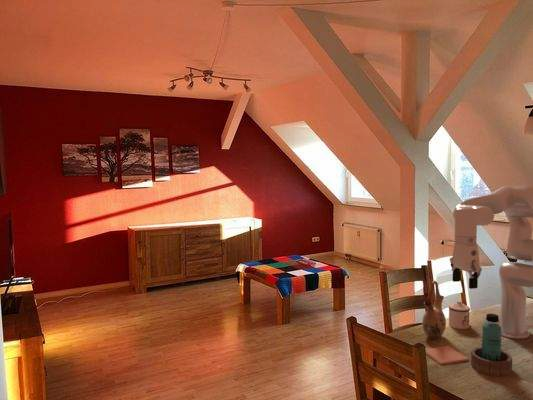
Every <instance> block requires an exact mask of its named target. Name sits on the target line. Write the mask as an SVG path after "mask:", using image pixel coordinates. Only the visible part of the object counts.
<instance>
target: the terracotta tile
mask: <svg viewBox="0 0 533 400" xmlns="http://www.w3.org/2000/svg"><path fill="white" fill-rule="evenodd" d="M425 349H426V353H427V355H426V356H427V357H429V358H430V359H432V360H434V362H436V363H438V364H439V365H440V366H441V365H442V366H443V365H448V364H455V363H462V362H468V361H469V358H468V357H467V356H465V355H464V354H462V353H460V352H458V351H457V350H455V349H454V348H452V347H451V346H450V345H446V346H440V347H439V346H438V347H431V348H425Z"/></svg>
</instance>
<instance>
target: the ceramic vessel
mask: <svg viewBox="0 0 533 400" xmlns="http://www.w3.org/2000/svg"><path fill="white" fill-rule="evenodd" d="M434 287H435V293H434ZM433 293H434V294H435V297H434V298H435V299H434V302H433ZM444 298H445V296H444V295H441V293H440V288H439V283H438V281H437V280H433V281H432V282H431V284H430V289H429V292H428V294H427V296H426V298H425V300H424V301H423V305H424V306H425V308H426V311H425V313H424V314H423V317H422V323H421V325H422V330H423V332H424V333H425V336H427V337H428V338H429V339H430V340H437V339H440V338H441V337H442V336H443V334H444V333H445V331H446V327H447V320H446V315H445V313H444V311H443V300H444Z"/></svg>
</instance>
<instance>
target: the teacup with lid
mask: <svg viewBox="0 0 533 400" xmlns="http://www.w3.org/2000/svg"><path fill="white" fill-rule="evenodd" d="M470 312H471V308H470V307H469V306H468V305H466V304H465V303H463V302H462V301H461V300H457V301H456V302H455V303H451V304H449V305H448V325H449V326H450V327H451V328H453V329H458V330H467V329H469V328H470Z"/></svg>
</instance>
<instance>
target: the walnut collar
mask: <svg viewBox="0 0 533 400" xmlns="http://www.w3.org/2000/svg"><path fill="white" fill-rule="evenodd" d="M481 347H482V346H480V347H474V348H473V349H471V350H470V364H471V368H473V369H474V370H475V371H477V372H478V373H481V374H484V375H487V376H490V377H491V376H492V377H498V378H499V377H500V378H501V377H506V376H508V377H509V376H510V375H511V374H512V372H513V358H512V356H511V354H510V353H508V352H506V351H504V350H502V349H501V360H500V362H498V361H489V360H486V359H483V358H482V350H481Z"/></svg>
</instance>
